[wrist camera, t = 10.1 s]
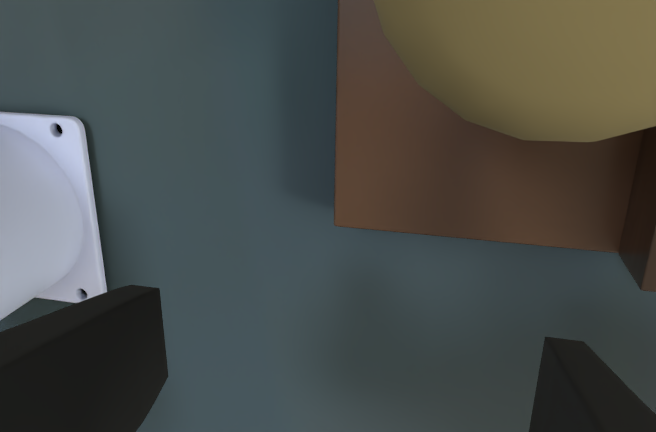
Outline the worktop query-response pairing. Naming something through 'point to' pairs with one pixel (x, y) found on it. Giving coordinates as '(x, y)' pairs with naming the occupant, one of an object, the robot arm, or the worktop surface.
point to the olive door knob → (533, 63)
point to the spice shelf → (477, 166)
